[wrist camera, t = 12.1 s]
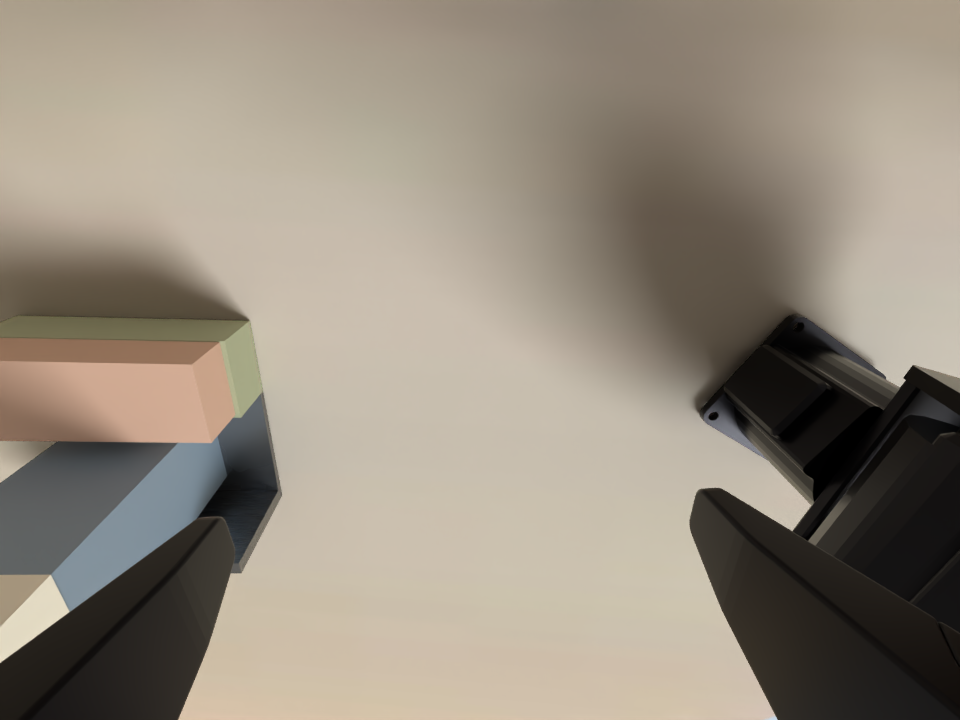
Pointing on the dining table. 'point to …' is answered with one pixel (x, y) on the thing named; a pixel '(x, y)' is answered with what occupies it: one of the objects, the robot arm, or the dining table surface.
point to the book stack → (124, 378)
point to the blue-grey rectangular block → (91, 522)
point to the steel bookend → (246, 481)
